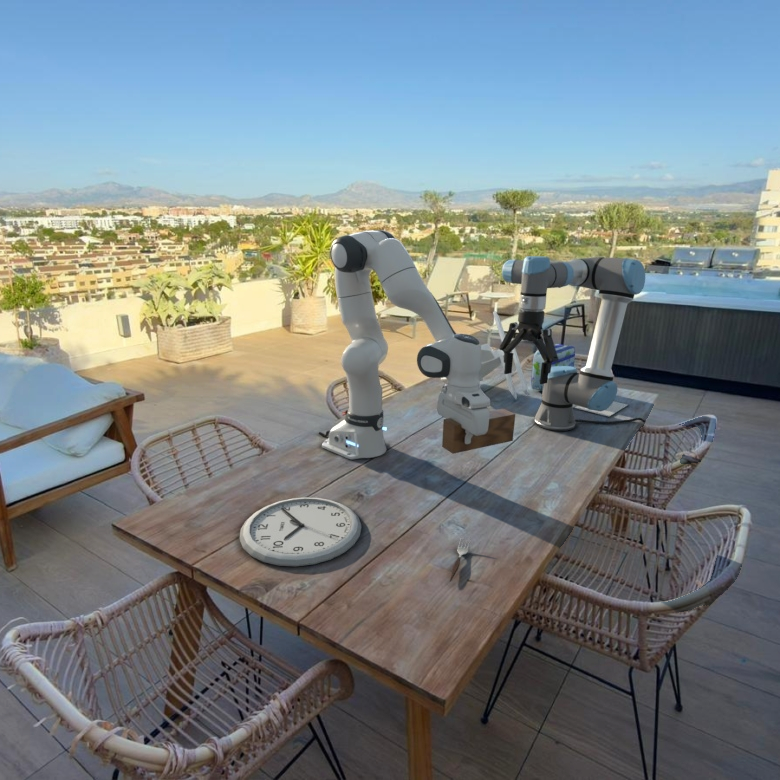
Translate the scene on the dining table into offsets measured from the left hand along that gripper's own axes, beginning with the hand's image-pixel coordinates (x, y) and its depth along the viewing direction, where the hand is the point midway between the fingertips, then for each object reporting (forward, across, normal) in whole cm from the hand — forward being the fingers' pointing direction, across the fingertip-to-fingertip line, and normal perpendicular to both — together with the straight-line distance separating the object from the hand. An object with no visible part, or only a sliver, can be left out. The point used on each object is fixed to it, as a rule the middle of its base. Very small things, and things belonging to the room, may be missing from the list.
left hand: (459, 438), depth 150 cm
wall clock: (+15, +2, -48) cm, 51 cm away
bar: (+3, 0, +7) cm, 7 cm away
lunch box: (+15, -62, +98) cm, 117 cm away
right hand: (-14, -5, +27) cm, 31 cm away
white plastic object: (+15, -72, +63) cm, 97 cm away
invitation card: (+15, -32, +99) cm, 105 cm away
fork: (+15, +30, -21) cm, 40 cm away
